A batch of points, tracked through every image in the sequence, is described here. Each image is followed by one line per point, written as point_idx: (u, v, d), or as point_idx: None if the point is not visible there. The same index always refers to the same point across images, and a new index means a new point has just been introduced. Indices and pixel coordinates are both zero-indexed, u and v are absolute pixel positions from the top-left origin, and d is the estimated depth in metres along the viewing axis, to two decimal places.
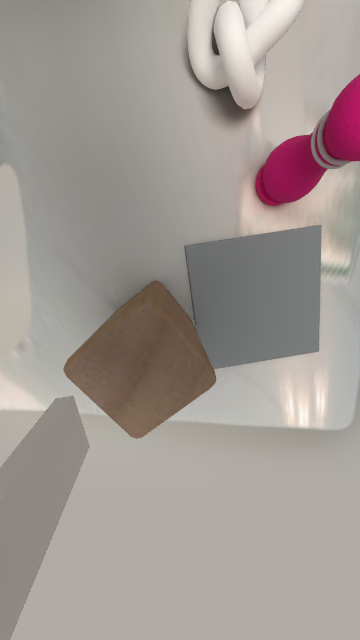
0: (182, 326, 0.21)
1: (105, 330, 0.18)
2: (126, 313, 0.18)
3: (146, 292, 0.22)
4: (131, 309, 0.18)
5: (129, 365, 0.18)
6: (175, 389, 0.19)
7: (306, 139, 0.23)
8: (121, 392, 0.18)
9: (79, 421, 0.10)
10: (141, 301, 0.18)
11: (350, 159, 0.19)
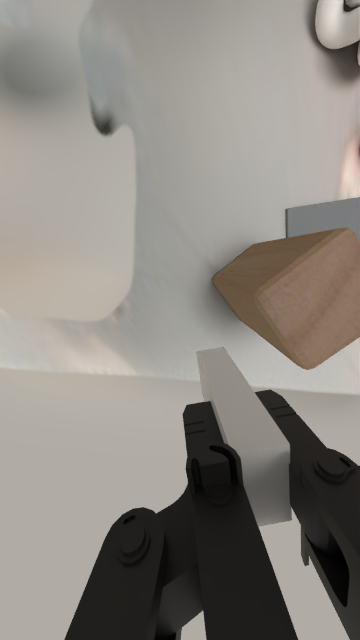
0: None
1: (300, 258, 0.19)
2: (323, 241, 0.19)
3: (302, 235, 0.23)
4: (328, 237, 0.18)
5: (322, 292, 0.19)
6: (358, 317, 0.20)
7: None
8: (309, 319, 0.19)
9: None
10: (338, 229, 0.18)
11: None
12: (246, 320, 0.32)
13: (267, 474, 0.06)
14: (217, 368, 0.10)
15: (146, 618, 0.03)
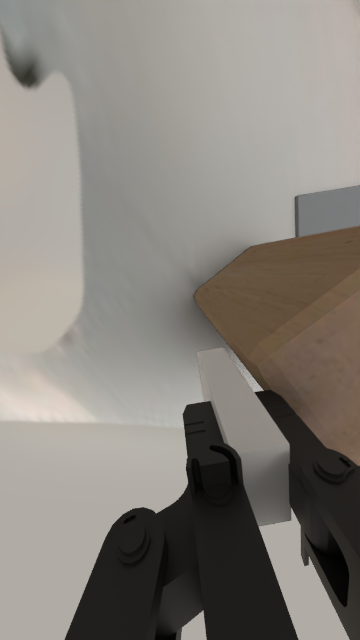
0: None
1: (352, 280, 0.08)
2: None
3: (337, 230, 0.13)
4: None
5: None
6: None
7: None
8: None
9: None
10: None
11: None
12: None
13: (267, 474, 0.06)
14: (217, 368, 0.10)
15: (146, 618, 0.03)
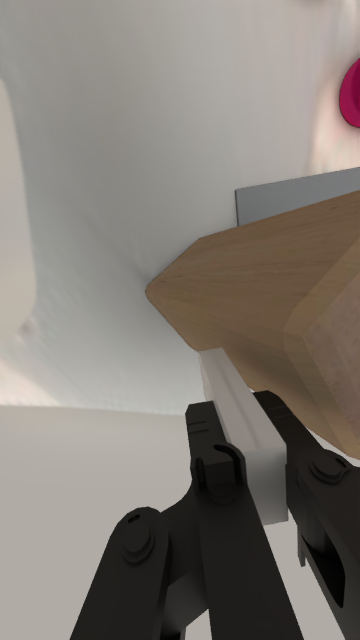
0: None
1: None
2: None
3: None
4: None
5: None
6: None
7: None
8: None
9: None
10: None
11: None
12: None
13: (264, 475, 0.06)
14: (215, 368, 0.10)
15: (151, 617, 0.03)
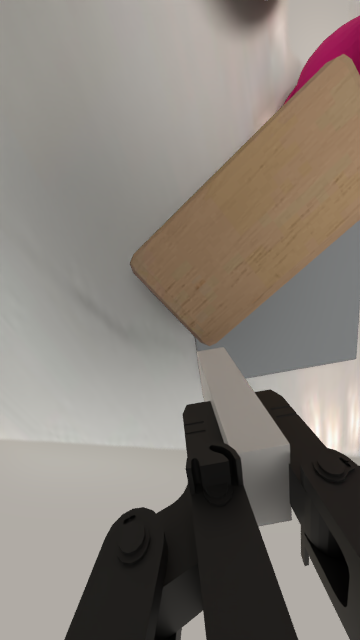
0: None
1: None
2: None
3: None
4: None
5: None
6: None
7: None
8: None
9: None
10: None
11: None
12: (260, 263, 0.17)
13: (267, 474, 0.06)
14: (217, 368, 0.10)
15: (146, 618, 0.03)
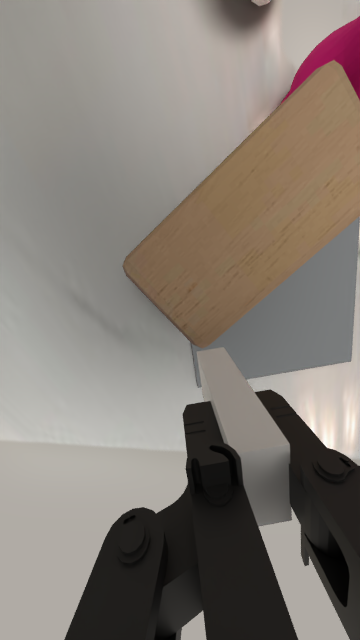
0: None
1: None
2: None
3: None
4: None
5: None
6: None
7: None
8: None
9: None
10: None
11: None
12: (252, 266, 0.17)
13: (267, 474, 0.06)
14: (217, 368, 0.10)
15: (146, 618, 0.03)
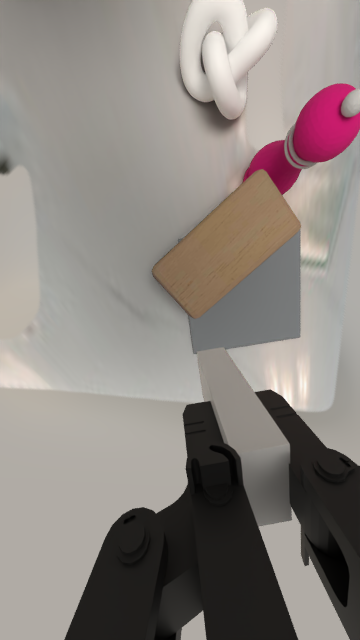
0: None
1: None
2: None
3: None
4: None
5: None
6: None
7: (282, 143, 0.27)
8: None
9: None
10: None
11: (313, 160, 0.23)
12: (223, 272, 0.30)
13: (267, 474, 0.06)
14: (217, 368, 0.10)
15: (146, 618, 0.03)
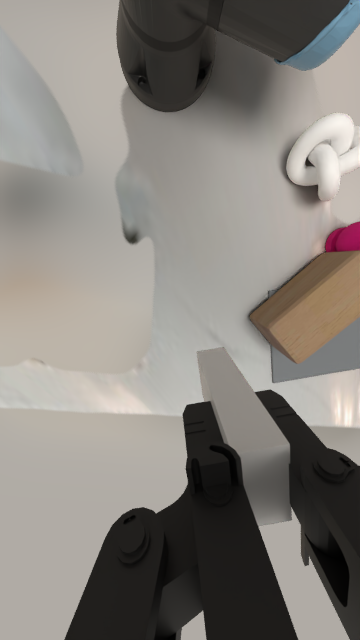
0: None
1: (337, 252, 0.40)
2: (328, 253, 0.42)
3: None
4: (326, 253, 0.43)
5: None
6: None
7: None
8: None
9: None
10: None
11: None
12: (325, 328, 0.38)
13: (267, 474, 0.06)
14: (217, 368, 0.10)
15: (146, 618, 0.03)
